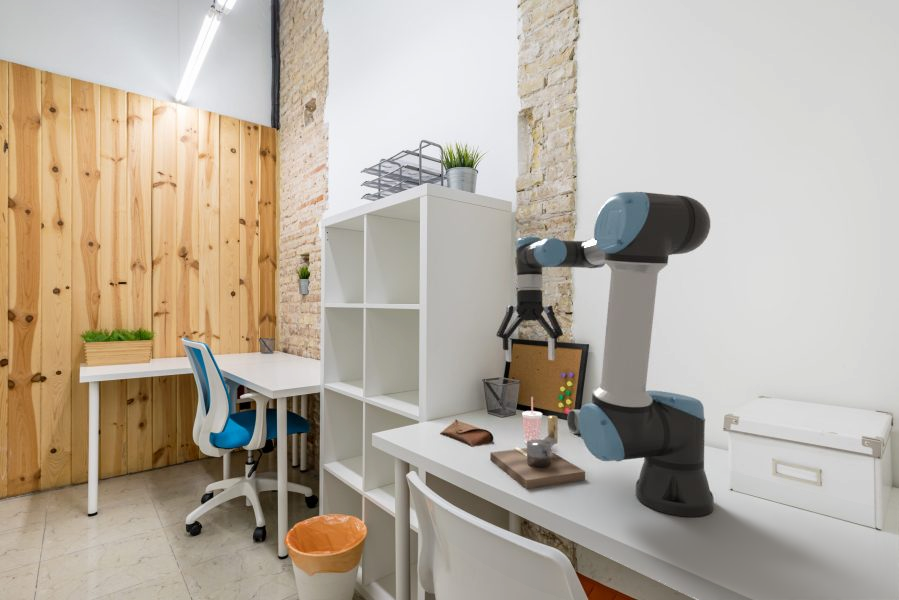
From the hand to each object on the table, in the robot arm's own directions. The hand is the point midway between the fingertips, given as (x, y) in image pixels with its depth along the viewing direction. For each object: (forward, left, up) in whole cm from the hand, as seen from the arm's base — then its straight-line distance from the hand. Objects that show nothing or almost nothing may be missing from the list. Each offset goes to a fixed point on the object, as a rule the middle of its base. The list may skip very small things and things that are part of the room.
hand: (530, 360), depth 135 cm
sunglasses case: (+14, +16, -26) cm, 33 cm away
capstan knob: (-16, +5, -23) cm, 28 cm away
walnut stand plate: (-17, +8, -25) cm, 32 cm away
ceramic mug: (+7, -23, -26) cm, 35 cm away
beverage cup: (+2, -2, -26) cm, 26 cm away
